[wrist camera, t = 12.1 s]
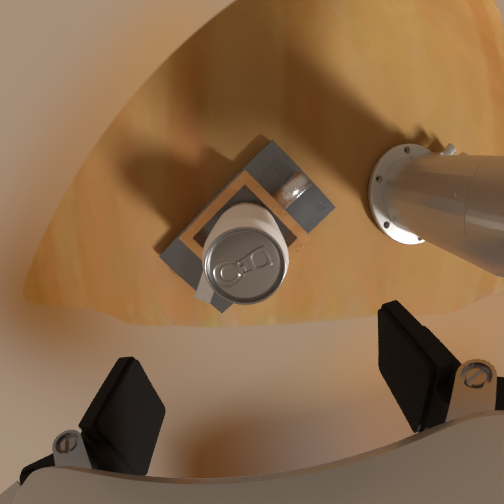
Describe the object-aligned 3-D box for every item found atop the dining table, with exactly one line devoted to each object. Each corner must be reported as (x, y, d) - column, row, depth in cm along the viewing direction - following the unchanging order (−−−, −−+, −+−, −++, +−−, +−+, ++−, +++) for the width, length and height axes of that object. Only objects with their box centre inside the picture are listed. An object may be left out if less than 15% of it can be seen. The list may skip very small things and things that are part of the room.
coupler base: (271, 141, 29) (275, 136, 25) (332, 206, 31) (343, 211, 27) (162, 253, 33) (151, 264, 29) (222, 308, 35) (219, 325, 31)
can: (206, 218, 30) (180, 247, 19) (260, 190, 30) (266, 203, 18) (234, 269, 32) (226, 323, 21) (286, 243, 31) (307, 286, 20)
